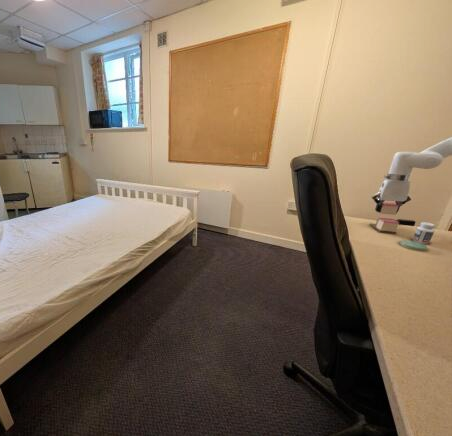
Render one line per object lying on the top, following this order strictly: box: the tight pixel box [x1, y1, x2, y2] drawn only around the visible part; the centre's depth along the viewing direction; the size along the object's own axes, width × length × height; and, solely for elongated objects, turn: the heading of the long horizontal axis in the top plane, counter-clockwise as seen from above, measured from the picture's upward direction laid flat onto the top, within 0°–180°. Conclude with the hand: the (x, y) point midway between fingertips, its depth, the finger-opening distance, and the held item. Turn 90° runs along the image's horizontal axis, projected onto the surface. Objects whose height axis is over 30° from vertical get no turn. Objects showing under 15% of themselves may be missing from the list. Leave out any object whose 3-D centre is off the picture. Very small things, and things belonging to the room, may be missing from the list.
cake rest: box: [376, 217, 400, 233], centre depth 112 cm, size 6×4×5 cm
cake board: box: [369, 223, 397, 235], centre depth 115 cm, size 6×11×1 cm, turn 160°
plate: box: [399, 239, 428, 252], centre depth 97 cm, size 8×8×1 cm
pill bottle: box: [412, 221, 435, 245], centre depth 100 cm, size 5×5×9 cm
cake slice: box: [377, 202, 399, 216], centre depth 114 cm, size 6×4×5 cm
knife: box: [375, 217, 417, 227], centre depth 113 cm, size 14×2×5 cm, turn 70°
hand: (385, 211), depth 114 cm, fingers closed on cake slice, 6 cm apart
